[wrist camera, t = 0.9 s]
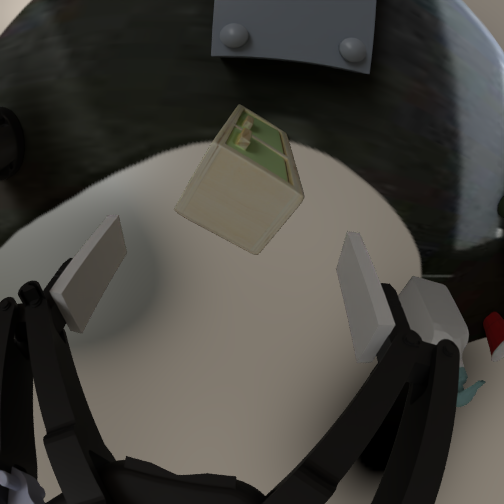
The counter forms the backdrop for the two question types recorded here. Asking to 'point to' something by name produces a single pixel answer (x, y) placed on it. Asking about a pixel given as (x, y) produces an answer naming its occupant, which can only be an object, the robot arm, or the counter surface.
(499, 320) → the plastic cup
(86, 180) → the counter surface
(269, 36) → the base brick
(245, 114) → the toy refrigerator
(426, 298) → the white spray bottle
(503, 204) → the character mug
